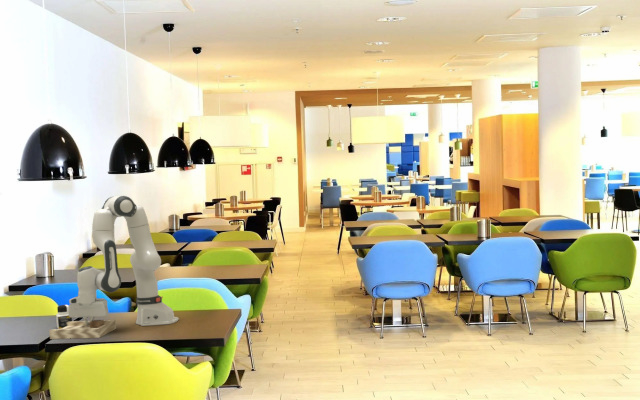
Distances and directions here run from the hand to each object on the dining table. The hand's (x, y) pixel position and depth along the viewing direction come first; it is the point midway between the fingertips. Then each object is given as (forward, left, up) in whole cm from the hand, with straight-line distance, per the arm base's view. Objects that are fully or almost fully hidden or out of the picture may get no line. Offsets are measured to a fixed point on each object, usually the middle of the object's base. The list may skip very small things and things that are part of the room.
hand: (89, 325), depth 370 cm
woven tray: (+3, 0, -4) cm, 5 cm away
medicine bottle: (+22, -17, -4) cm, 28 cm away
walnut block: (-4, 0, -2) cm, 5 cm away
